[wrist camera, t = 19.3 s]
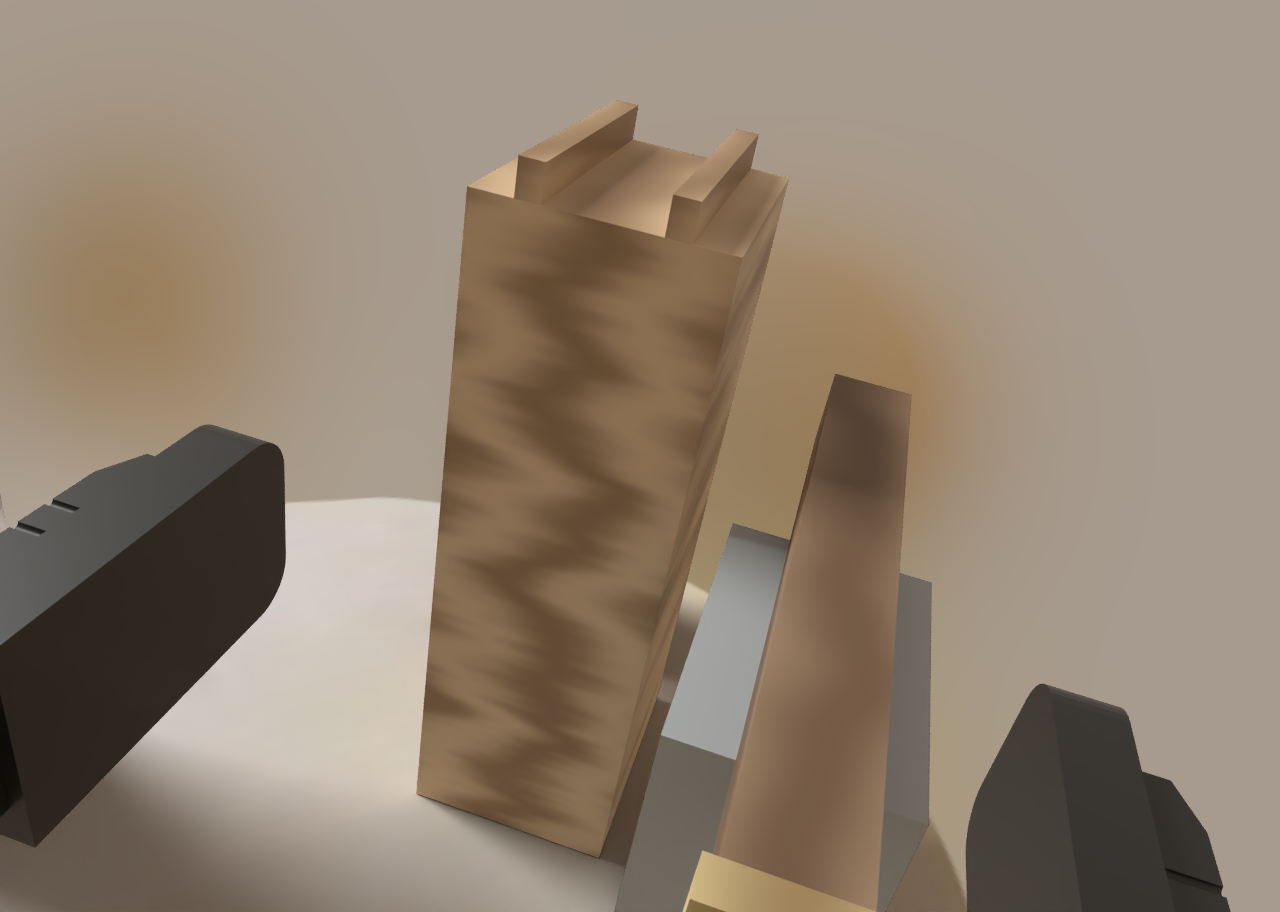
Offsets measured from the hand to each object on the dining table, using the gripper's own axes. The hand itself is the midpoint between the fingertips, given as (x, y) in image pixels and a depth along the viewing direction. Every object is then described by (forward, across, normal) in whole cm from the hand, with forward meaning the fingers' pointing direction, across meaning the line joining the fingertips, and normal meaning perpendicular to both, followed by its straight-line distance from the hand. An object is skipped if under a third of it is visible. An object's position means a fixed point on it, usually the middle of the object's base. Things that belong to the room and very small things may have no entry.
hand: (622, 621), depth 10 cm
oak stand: (+30, +7, +36) cm, 47 cm away
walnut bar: (+19, -4, +15) cm, 25 cm away
